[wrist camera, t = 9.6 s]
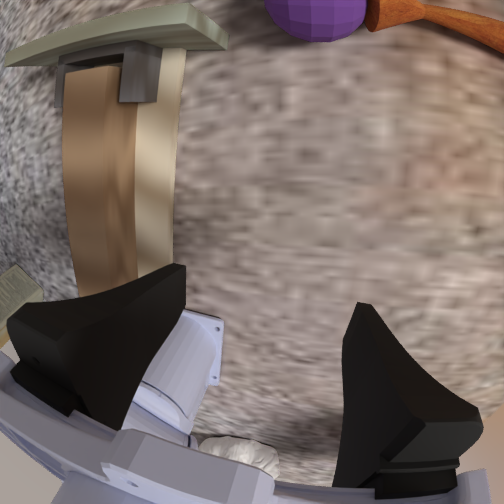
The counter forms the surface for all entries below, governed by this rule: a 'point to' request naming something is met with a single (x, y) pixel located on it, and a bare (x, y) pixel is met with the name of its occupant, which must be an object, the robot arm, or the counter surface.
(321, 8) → the kendama
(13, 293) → the skincare box
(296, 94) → the counter surface
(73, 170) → the rail
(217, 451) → the bust
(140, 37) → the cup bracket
